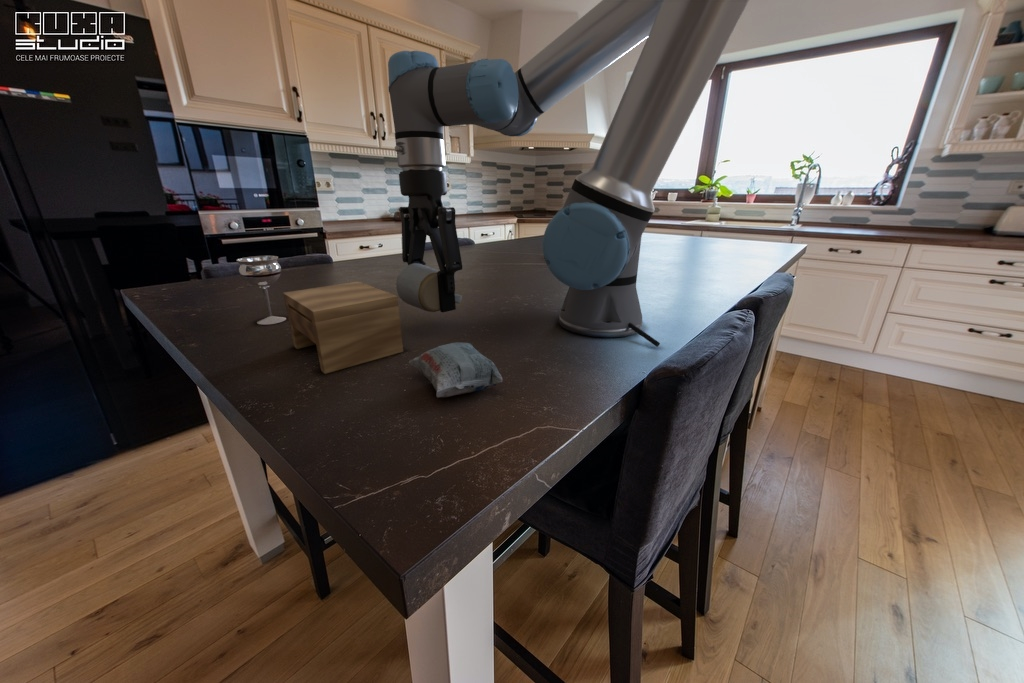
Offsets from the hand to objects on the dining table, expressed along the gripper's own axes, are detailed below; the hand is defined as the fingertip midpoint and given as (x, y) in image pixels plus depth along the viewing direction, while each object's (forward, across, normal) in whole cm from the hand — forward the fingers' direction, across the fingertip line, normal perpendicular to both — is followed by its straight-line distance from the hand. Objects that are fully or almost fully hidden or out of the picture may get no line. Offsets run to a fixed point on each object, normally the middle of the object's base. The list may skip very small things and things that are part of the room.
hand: (434, 305), depth 72 cm
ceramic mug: (0, 0, 0) cm, 1 cm away
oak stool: (+4, 0, -16) cm, 17 cm away
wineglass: (+4, -26, -21) cm, 33 cm away
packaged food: (+5, +22, -11) cm, 25 cm away
